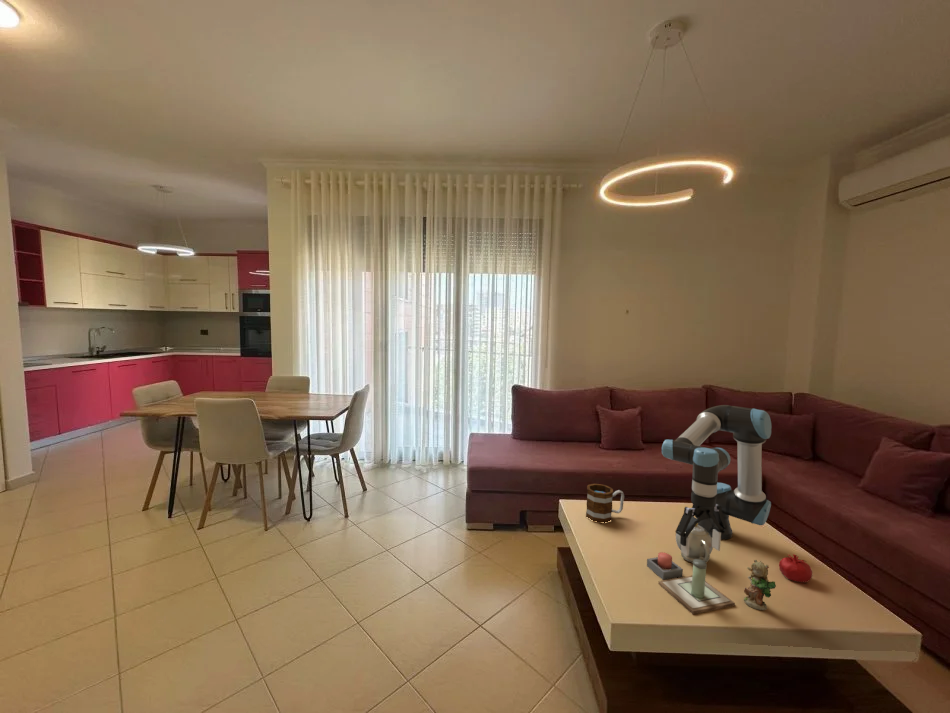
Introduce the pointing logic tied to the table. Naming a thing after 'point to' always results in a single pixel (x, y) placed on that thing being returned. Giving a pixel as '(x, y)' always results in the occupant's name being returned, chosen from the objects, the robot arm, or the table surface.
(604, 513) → the mug
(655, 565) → the button housing
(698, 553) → the teapot
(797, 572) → the pomegranate
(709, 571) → the table surface
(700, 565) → the cylinder
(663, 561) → the button
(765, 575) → the figurine
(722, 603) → the picture board
